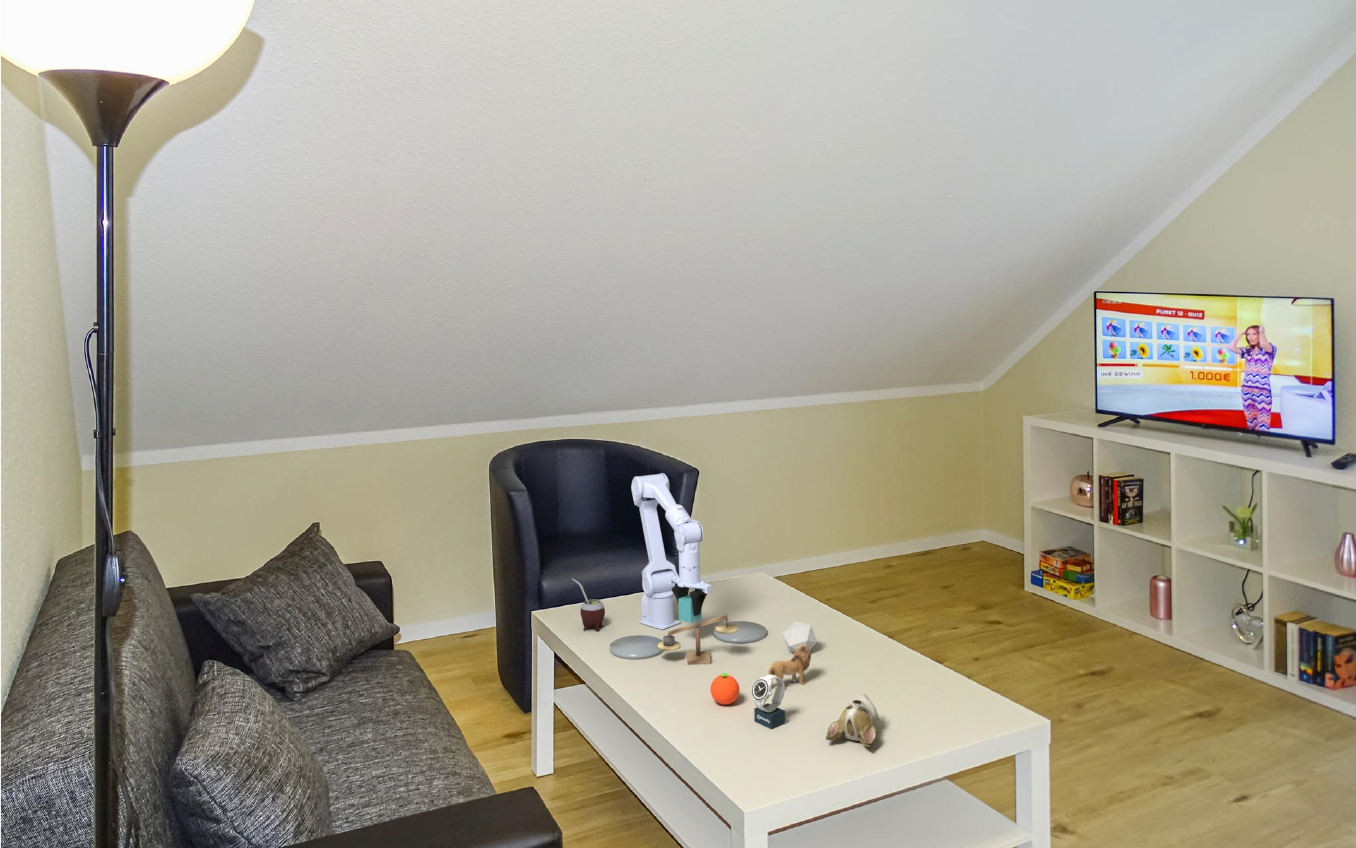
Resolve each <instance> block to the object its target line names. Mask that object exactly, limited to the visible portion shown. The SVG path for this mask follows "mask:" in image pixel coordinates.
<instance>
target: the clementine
mask: <svg viewBox="0 0 1356 848" xmlns="http://www.w3.org/2000/svg"><path fill="white" fill-rule="evenodd" d="M709 690H710V695H711V697H712V699H714V701H715V702H717V704H719V705H720V704H721V705H730V704H732V703H734V702H735V701H736V700H737V698H738V697H739V695H740V684H739V682H738V681H737V679H736V678H735V677H733V676H732V675H730V674H729V673H728V672H723V673H721V674H720V675H718V676H716V677H715V678H714V679H712V682H711V684H710V688H709Z"/></svg>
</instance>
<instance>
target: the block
mask: <svg viewBox="0 0 1356 848" xmlns="http://www.w3.org/2000/svg"><path fill="white" fill-rule="evenodd" d="M702 611H703V609H701V614H700V615H698V616H694V614H693V604H692V599H691V596H690V594H688V596H685V597H682V598H679V605H678V621H683V622H686V623H689V624H694V623H696V622H699V621H701V620H702V619H703V612H702Z"/></svg>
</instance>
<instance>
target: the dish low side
mask: <svg viewBox="0 0 1356 848" xmlns="http://www.w3.org/2000/svg"><path fill="white" fill-rule="evenodd" d="M662 641H663V640H662V639H661V638H658V637H656V636H653V635H652V636H651V635H641V634H638V635H627V636H623V637H619V638H617V639H615V640H613V641H612V642H610V644H609V652H610V654H611V655H613V656H614V657H617V658H619V659H625V660H643V659H645V660H646V659H650V658H655V657H657V656H660V655H661V654H662V653H664V652H665V651H664V650H660V649H659V648H658V643H660V642H662Z"/></svg>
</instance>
